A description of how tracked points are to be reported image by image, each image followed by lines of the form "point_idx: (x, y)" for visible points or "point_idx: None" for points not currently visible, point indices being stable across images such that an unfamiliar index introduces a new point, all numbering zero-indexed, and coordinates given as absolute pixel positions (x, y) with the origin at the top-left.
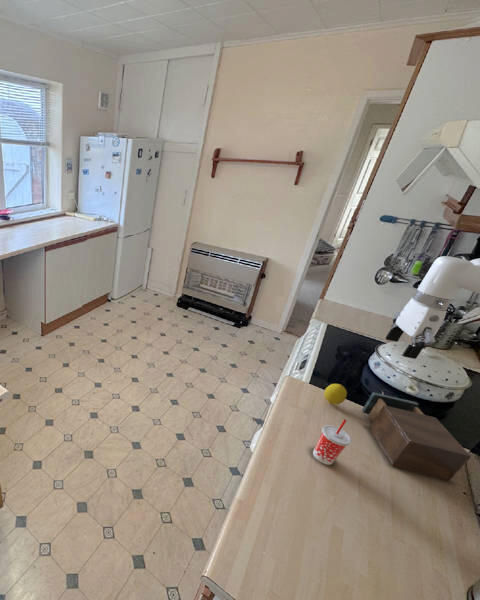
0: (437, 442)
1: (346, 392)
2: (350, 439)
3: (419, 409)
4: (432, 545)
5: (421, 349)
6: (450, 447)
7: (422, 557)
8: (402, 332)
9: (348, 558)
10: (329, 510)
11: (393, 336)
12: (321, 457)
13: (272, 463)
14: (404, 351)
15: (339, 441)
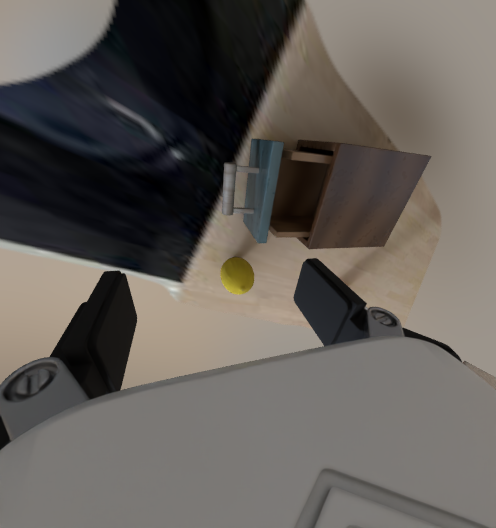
0: (395, 201)
1: (247, 272)
2: (366, 309)
3: (299, 153)
4: (416, 232)
5: (354, 296)
6: (408, 183)
7: (419, 245)
8: (97, 340)
9: (403, 292)
10: (377, 295)
11: (125, 326)
12: None
13: None
14: (305, 315)
15: None
